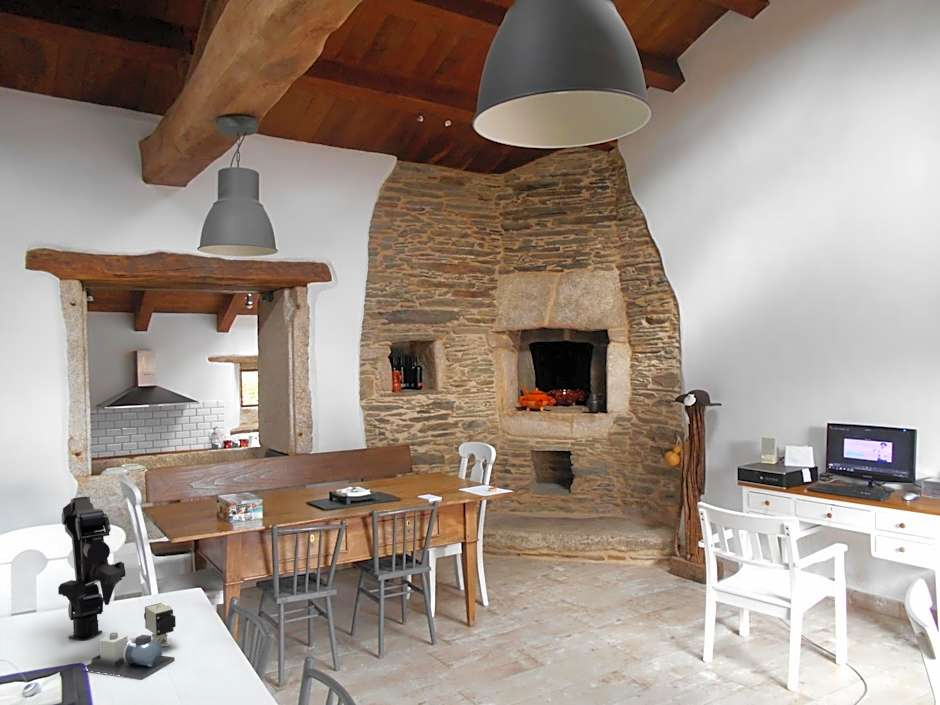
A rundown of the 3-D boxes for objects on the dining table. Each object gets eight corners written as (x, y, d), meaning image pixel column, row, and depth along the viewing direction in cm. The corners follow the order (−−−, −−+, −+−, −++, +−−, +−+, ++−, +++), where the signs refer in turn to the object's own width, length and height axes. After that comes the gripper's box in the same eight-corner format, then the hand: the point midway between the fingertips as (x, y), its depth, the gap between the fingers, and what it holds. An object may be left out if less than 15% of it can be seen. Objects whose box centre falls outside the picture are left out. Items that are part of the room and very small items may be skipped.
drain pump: (100, 662, 199) (99, 636, 199) (113, 655, 204) (112, 630, 204) (115, 664, 198) (114, 637, 198) (127, 657, 202) (127, 631, 202)
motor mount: (82, 671, 197) (81, 639, 197) (117, 653, 208) (116, 623, 208) (141, 679, 190) (140, 647, 190) (174, 660, 201) (173, 630, 201)
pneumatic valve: (159, 653, 207) (158, 611, 207) (144, 642, 215) (142, 602, 215) (179, 648, 211) (177, 606, 211) (163, 637, 219) (162, 597, 219)
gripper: (87, 566, 198) (89, 624, 198) (139, 548, 215) (141, 601, 216) (56, 564, 201) (57, 620, 202) (109, 546, 219) (111, 598, 219)
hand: (94, 610), depth 209 cm, fingers open, 9 cm apart
